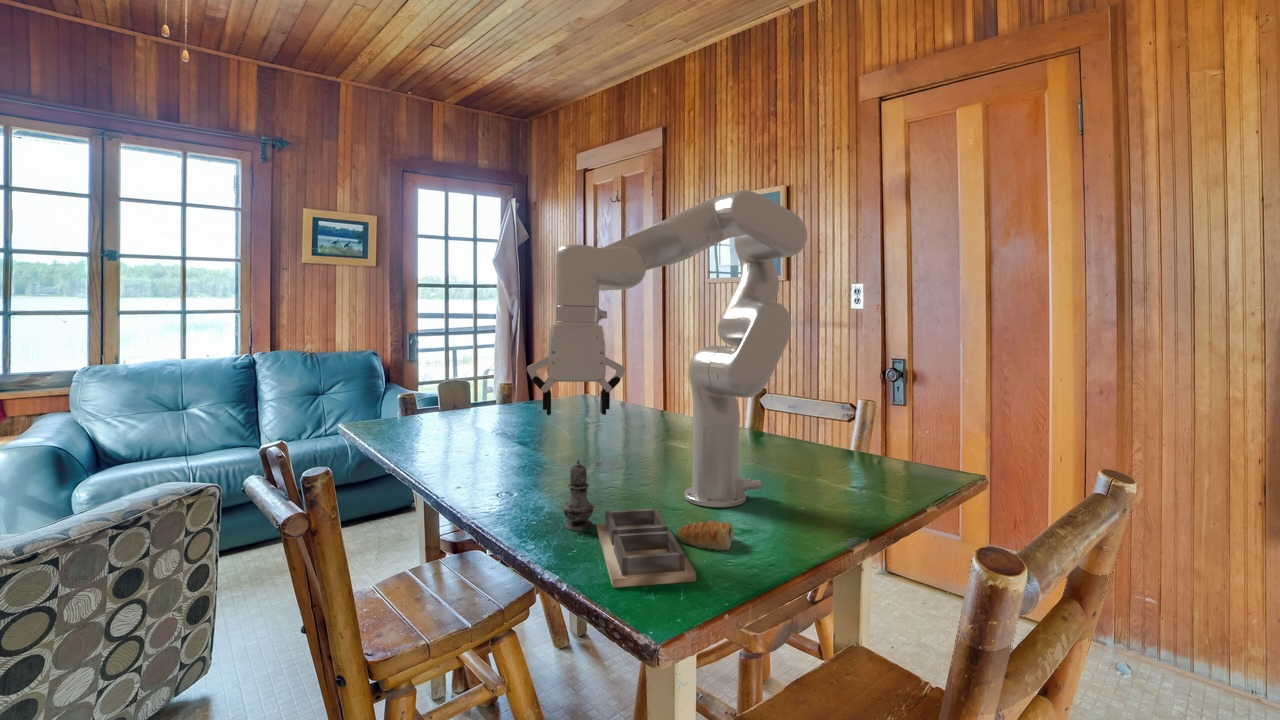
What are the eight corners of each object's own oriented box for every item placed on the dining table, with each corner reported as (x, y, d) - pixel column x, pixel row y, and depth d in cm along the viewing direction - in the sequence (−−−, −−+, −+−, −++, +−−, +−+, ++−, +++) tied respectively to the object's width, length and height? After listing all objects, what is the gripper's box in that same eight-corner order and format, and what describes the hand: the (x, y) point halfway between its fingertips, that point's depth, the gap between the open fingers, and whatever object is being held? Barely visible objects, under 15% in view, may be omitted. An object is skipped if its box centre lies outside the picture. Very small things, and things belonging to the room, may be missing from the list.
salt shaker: (589, 532, 102) (589, 465, 101) (557, 530, 104) (557, 463, 103) (598, 521, 108) (598, 457, 107) (568, 518, 109) (567, 455, 108)
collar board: (663, 526, 106) (663, 506, 105) (696, 581, 84) (696, 556, 84) (596, 530, 103) (596, 509, 103) (612, 587, 82) (612, 561, 82)
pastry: (673, 547, 97) (673, 524, 96) (681, 533, 103) (681, 512, 103) (730, 553, 94) (730, 530, 94) (734, 538, 101) (735, 517, 100)
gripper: (623, 318, 108) (621, 410, 109) (527, 316, 105) (526, 410, 106) (629, 318, 101) (627, 416, 102) (526, 316, 98) (526, 418, 99)
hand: (576, 413), depth 104 cm, fingers open, 9 cm apart
